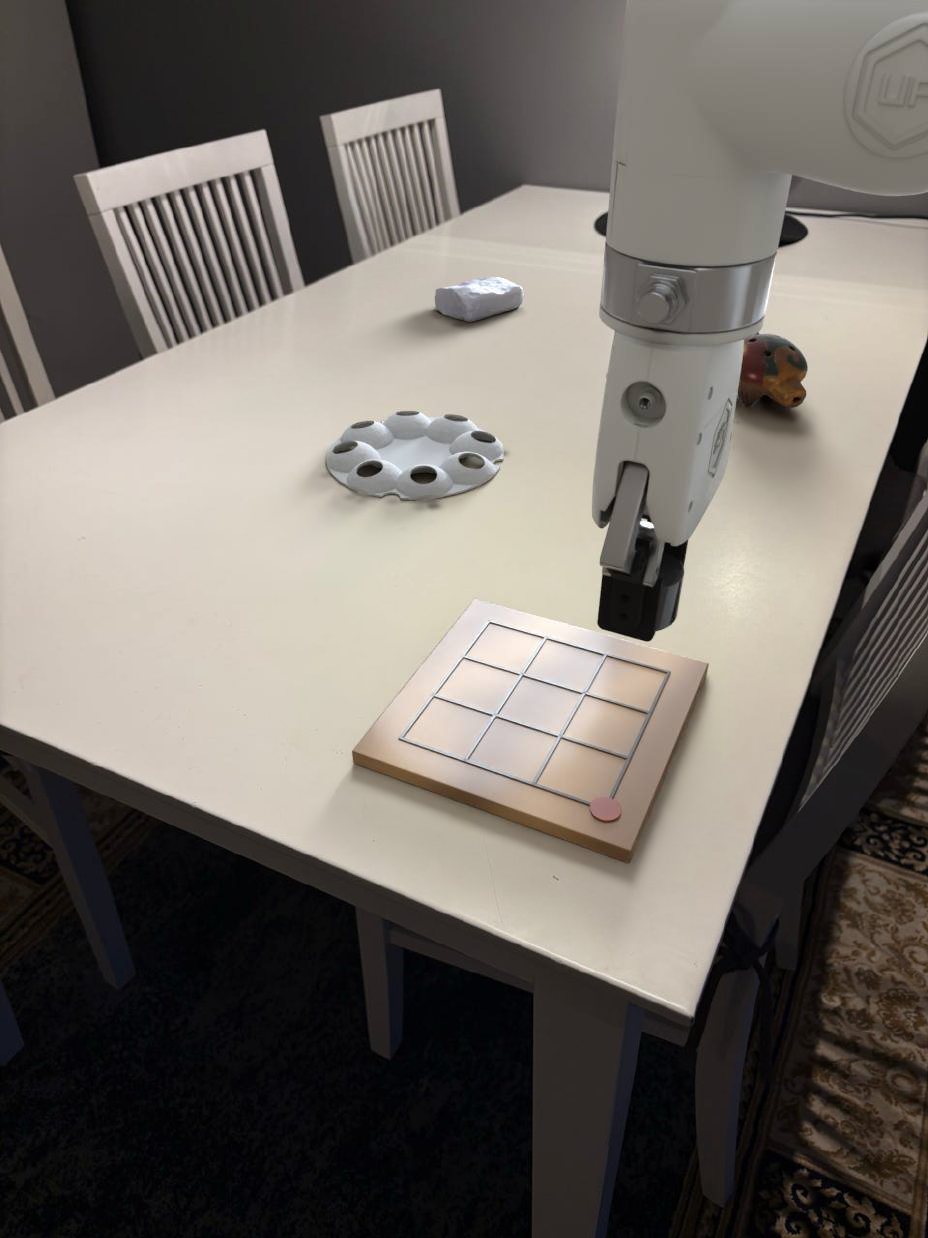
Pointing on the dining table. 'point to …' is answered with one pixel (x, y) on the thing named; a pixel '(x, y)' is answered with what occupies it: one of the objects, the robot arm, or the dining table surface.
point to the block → (478, 298)
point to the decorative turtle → (772, 371)
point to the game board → (540, 725)
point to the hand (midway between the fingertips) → (639, 605)
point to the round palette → (414, 455)
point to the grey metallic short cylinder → (668, 587)
